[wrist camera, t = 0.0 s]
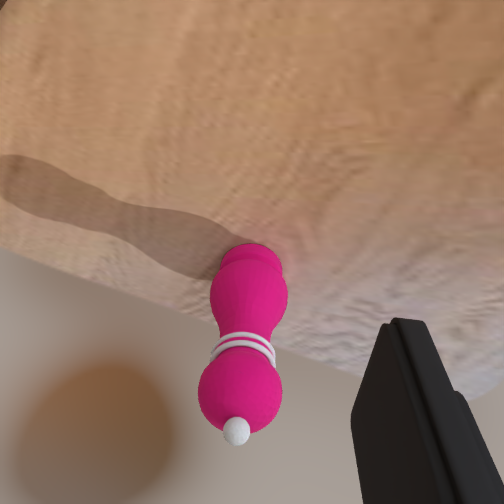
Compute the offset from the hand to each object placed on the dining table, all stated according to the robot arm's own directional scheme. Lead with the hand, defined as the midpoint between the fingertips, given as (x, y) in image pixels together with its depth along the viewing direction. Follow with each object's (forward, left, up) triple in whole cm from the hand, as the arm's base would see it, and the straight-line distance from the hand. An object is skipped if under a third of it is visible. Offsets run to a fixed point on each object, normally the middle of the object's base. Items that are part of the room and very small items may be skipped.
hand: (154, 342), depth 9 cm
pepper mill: (+13, +14, -31) cm, 37 cm away
